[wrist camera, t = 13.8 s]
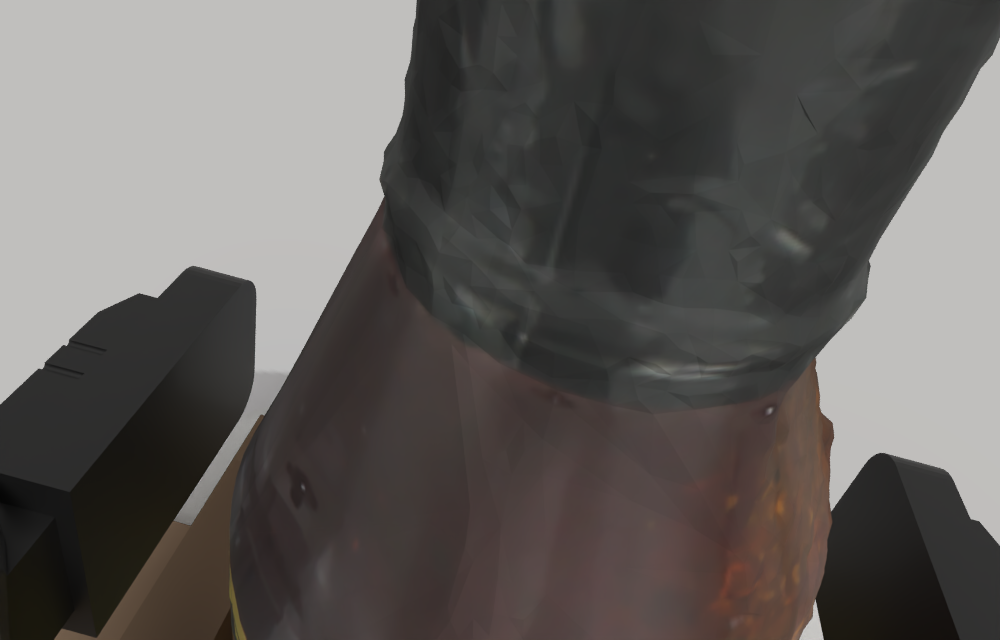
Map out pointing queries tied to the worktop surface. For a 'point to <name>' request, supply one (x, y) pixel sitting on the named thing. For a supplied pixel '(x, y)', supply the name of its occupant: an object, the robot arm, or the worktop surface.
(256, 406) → the worktop surface
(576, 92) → the sauce bottle
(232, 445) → the worktop surface
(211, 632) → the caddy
